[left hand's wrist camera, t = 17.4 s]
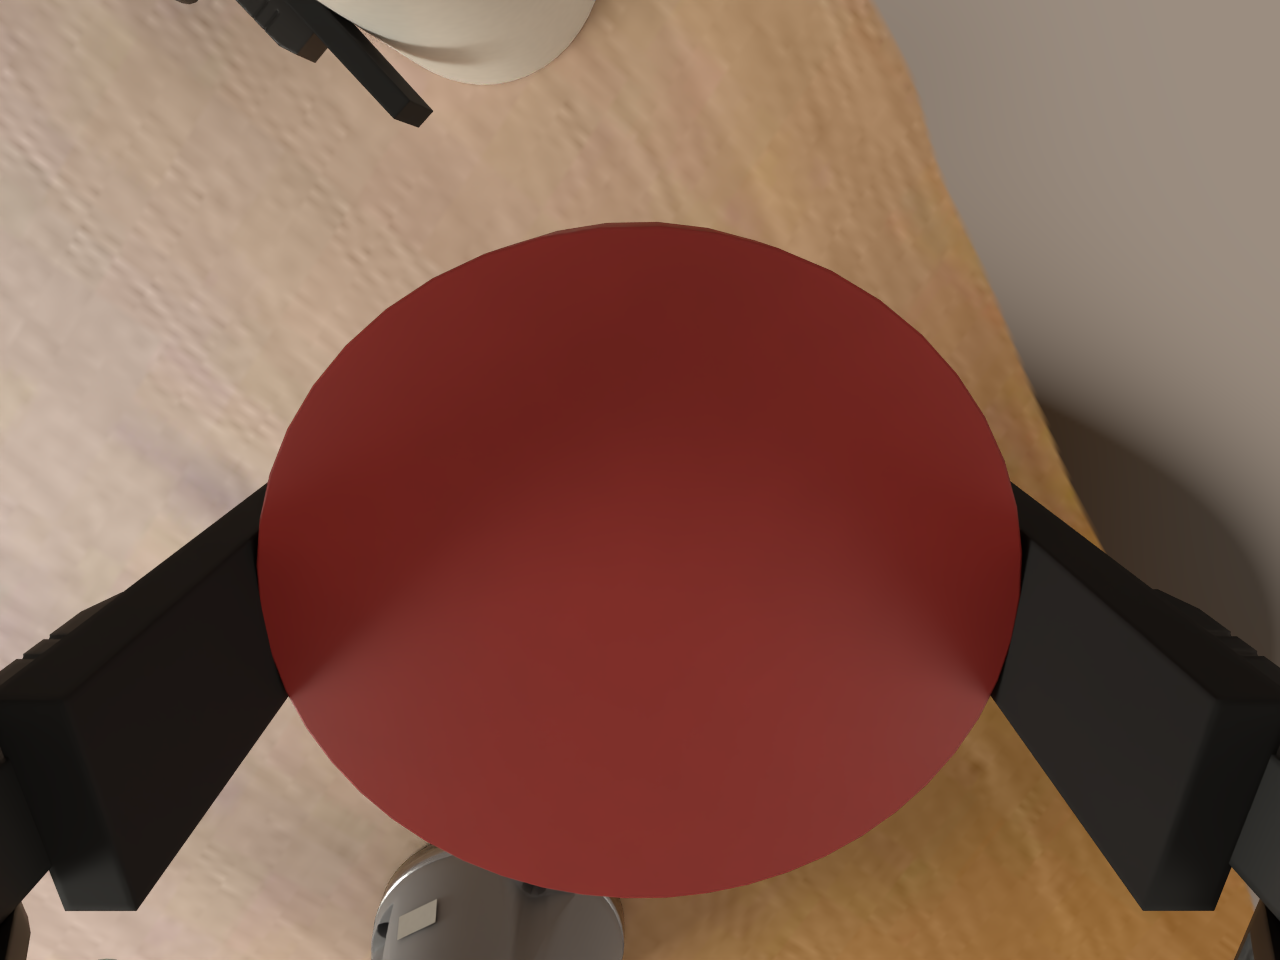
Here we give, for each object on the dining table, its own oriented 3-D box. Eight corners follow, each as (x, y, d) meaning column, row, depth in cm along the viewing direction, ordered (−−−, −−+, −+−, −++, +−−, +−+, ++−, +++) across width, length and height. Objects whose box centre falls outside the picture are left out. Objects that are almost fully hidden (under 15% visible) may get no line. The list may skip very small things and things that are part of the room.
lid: (1038, 241, 10) (1119, 248, 8) (903, 823, 14) (940, 910, 12) (269, 201, 10) (192, 202, 8) (345, 803, 14) (304, 888, 12)
